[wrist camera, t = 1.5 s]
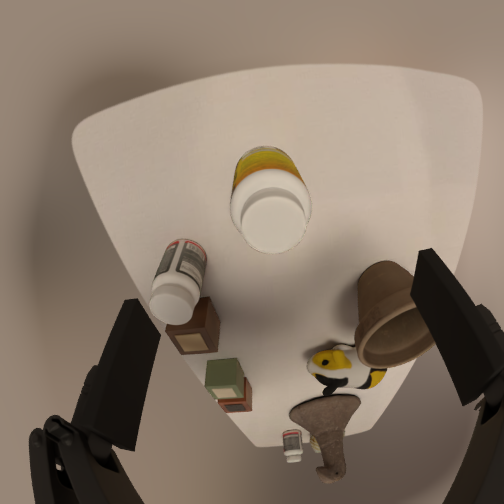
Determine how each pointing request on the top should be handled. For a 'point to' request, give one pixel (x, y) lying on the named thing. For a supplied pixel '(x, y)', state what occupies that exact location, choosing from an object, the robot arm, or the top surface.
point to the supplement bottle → (269, 200)
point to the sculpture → (328, 430)
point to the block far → (224, 379)
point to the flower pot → (389, 318)
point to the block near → (197, 330)
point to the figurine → (343, 370)
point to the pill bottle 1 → (178, 282)
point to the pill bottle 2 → (292, 445)
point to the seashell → (315, 444)
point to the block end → (238, 401)
